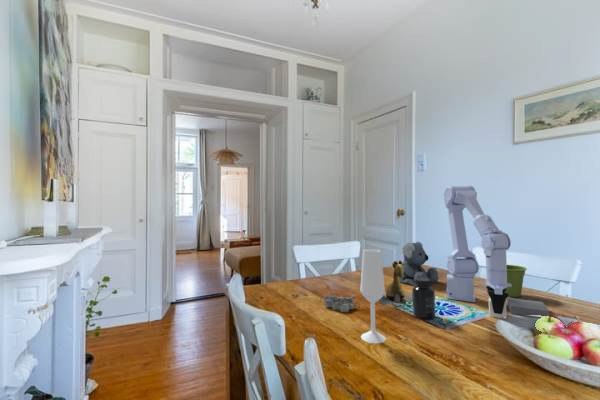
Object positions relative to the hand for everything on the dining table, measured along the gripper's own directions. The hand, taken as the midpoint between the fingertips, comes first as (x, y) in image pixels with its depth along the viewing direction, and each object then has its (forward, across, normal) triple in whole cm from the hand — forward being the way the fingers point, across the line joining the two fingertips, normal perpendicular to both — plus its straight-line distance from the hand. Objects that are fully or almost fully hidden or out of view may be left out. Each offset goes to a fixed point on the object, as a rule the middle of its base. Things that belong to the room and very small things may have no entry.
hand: (497, 310), depth 96 cm
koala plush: (+2, +33, +31) cm, 45 cm away
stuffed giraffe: (+2, +3, +32) cm, 33 cm away
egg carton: (+2, -17, +49) cm, 52 cm away
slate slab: (+2, +9, -9) cm, 13 cm away
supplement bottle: (+2, -12, +21) cm, 24 cm away
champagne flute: (+2, -36, +31) cm, 48 cm away
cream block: (+1, 0, 0) cm, 1 cm away
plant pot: (+2, +29, -6) cm, 30 cm away
